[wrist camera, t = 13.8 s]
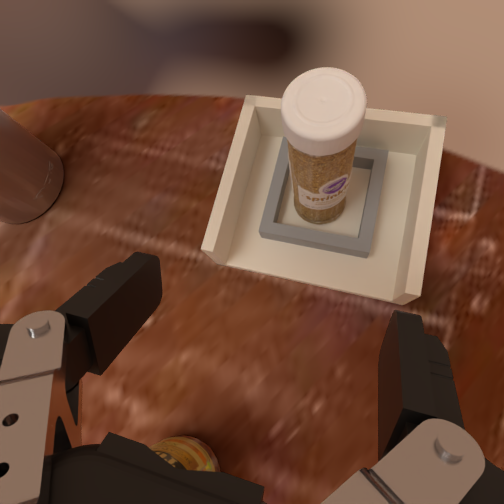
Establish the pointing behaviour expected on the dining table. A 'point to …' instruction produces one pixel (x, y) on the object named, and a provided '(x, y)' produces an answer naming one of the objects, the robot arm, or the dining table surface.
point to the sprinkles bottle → (322, 139)
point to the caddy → (351, 219)
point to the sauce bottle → (187, 453)
